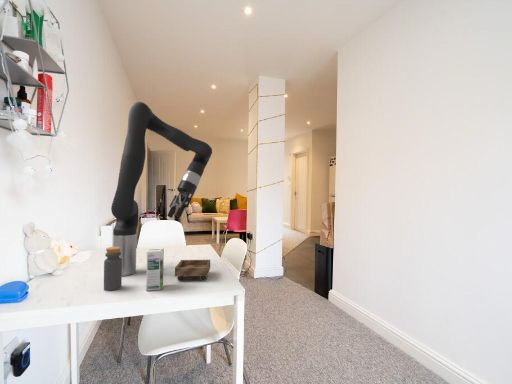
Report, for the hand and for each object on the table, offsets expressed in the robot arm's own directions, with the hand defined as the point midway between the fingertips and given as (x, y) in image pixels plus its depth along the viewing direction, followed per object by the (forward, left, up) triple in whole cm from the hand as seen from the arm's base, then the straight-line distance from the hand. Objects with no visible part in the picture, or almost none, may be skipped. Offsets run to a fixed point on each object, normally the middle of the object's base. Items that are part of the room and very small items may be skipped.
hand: (173, 216), depth 108 cm
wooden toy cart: (+8, +2, -26) cm, 27 cm away
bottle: (-20, -10, -26) cm, 34 cm away
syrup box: (-4, -10, -26) cm, 28 cm away
